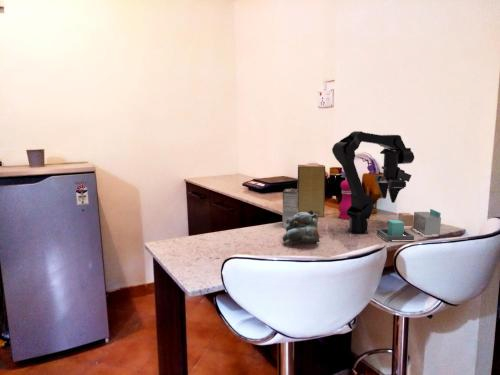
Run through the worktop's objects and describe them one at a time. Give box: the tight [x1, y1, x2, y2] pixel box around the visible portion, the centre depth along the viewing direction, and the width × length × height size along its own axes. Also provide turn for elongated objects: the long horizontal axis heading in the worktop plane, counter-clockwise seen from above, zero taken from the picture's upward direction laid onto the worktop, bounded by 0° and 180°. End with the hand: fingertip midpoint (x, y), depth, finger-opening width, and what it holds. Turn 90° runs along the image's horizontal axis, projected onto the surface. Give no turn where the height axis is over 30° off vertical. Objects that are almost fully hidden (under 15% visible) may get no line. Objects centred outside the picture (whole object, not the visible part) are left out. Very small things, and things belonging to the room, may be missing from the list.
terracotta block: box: [397, 212, 414, 226], centre depth 159 cm, size 4×4×6 cm
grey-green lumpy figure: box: [282, 211, 321, 246], centre depth 138 cm, size 15×12×14 cm
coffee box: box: [282, 188, 299, 229], centre depth 162 cm, size 9×6×16 cm
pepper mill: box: [338, 177, 352, 220], centre depth 175 cm, size 7×7×20 cm
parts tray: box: [376, 228, 415, 241], centre depth 144 cm, size 10×10×2 cm
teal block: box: [386, 219, 405, 236], centre depth 144 cm, size 4×4×6 cm
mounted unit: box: [413, 208, 442, 235], centre depth 149 cm, size 6×10×10 cm, turn 1°
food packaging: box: [296, 164, 326, 218], centre depth 181 cm, size 13×9×25 cm
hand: (388, 200), depth 157 cm, fingers open, 9 cm apart
